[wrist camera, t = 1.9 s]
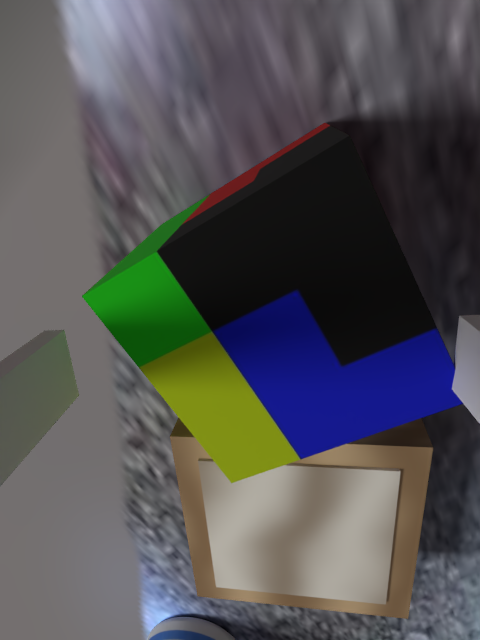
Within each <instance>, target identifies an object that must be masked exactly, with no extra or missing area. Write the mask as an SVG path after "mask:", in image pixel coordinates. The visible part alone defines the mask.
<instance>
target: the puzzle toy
mask: <svg viewBox="0 0 480 640" xmlns="http://www.w3.org/2000/svg"><path fill="white" fill-rule="evenodd" d="M82 297H83V298H84V300H85V301H86V302H87V303H88V305H89V306H90V307H91V308H92V310H93V311H94V312H95V313H96V315H97V316H98V317H99V318H100V320H101V321H102V322H103V323H104V325H105V326H106V327H107V328H108V330H109V331H110V332H111V333H112V335H113V336H114V337H115V338H116V340H117V341H118V342H119V343H120V345H121V346H122V347H123V348H124V350H125V351H126V352H127V353H128V355H129V356H130V357H131V358H132V360H133V361H134V362H135V363H136V365H137V366H138V367H139V368H140V370H141V371H142V372H143V373H144V375H145V376H146V377H147V378H148V380H149V381H150V382H151V383H152V385H153V386H154V387H155V388H156V390H157V391H158V392H159V393H160V395H161V396H162V397H163V398H164V400H165V401H166V402H167V403H168V405H169V406H170V407H171V408H172V410H173V411H174V412H175V413H176V415H177V416H178V417H179V418H180V420H181V421H182V422H183V423H184V425H185V426H186V427H187V428H188V430H189V431H190V432H191V433H192V435H193V436H194V437H195V438H196V440H197V441H198V442H199V443H200V445H201V446H202V447H203V448H204V450H205V451H206V452H207V453H208V455H209V456H210V457H211V458H212V460H213V461H214V462H215V463H216V465H217V466H218V467H219V468H220V470H221V471H222V472H223V473H224V475H225V476H226V477H227V478H228V480H229V481H230V482H231V483H234V482H237V481H240V480H242V479H245V478H248V477H251V476H254V475H257V474H260V473H263V472H266V471H269V470H272V469H275V468H277V467H280V466H283V465H286V464H289V463H292V462H295V461H298V460H301V459H304V458H307V457H309V456H312V455H315V454H318V453H321V452H324V451H327V450H330V449H333V448H336V447H339V446H342V445H344V444H347V443H350V442H353V441H356V440H359V439H362V438H365V437H368V436H371V435H374V434H377V433H379V432H382V431H385V430H388V429H391V428H394V427H397V426H400V425H403V424H406V423H409V422H412V421H414V420H417V419H420V418H423V417H426V416H429V415H432V414H435V413H438V412H441V411H444V410H447V409H449V408H452V407H455V406H458V405H461V404H463V402H462V401H461V400H460V399H459V398H458V396H457V395H456V394H455V393H454V391H453V390H452V385H453V380H454V374H455V367H454V364H453V362H452V360H451V358H450V356H449V353H448V351H447V349H446V347H445V344H444V342H443V340H442V338H441V336H440V333H439V331H438V329H437V327H436V325H435V322H434V320H433V318H432V316H431V314H430V311H429V309H428V307H427V305H426V303H425V300H424V298H423V296H422V294H421V292H420V289H419V287H418V285H417V283H416V281H415V278H414V276H413V274H412V272H411V270H410V267H409V265H408V263H407V261H406V259H405V256H404V254H403V252H402V250H401V248H400V245H399V243H398V241H397V239H396V237H395V234H394V232H393V230H392V228H391V226H390V223H389V221H388V219H387V217H386V215H385V212H384V210H383V208H382V206H381V203H380V201H379V199H378V197H377V195H376V192H375V190H374V188H373V186H372V184H371V181H370V179H369V177H368V175H367V173H366V170H365V168H364V166H363V164H362V162H361V159H360V157H359V155H358V153H357V151H356V148H355V146H354V144H353V142H352V140H351V137H350V135H348V134H346V133H344V132H342V131H340V130H338V129H336V128H334V127H332V126H330V125H328V124H326V123H324V124H322V125H320V126H319V127H317V128H316V129H314V130H312V131H311V132H309V133H307V134H306V135H304V136H303V137H301V138H299V139H298V140H296V141H295V142H293V143H291V144H290V145H288V146H287V147H285V148H283V149H282V150H280V151H279V152H277V153H275V154H274V155H272V156H271V157H269V158H267V159H266V160H264V161H263V162H261V163H259V164H258V165H256V166H255V167H253V168H251V169H250V170H248V171H247V172H245V173H243V174H242V175H240V176H239V177H237V178H235V179H234V180H232V181H231V182H229V183H227V184H226V185H224V186H223V187H221V188H219V189H218V190H216V191H214V192H213V193H211V194H210V195H208V196H206V197H205V198H203V199H202V200H200V201H198V202H197V203H195V204H194V205H192V206H190V207H189V208H187V209H186V210H184V211H182V212H181V213H179V214H178V215H176V216H174V217H173V218H171V219H170V220H168V221H166V222H165V223H163V224H162V225H161V226H159V227H158V228H157V229H156V230H155V231H154V232H153V233H152V234H151V235H149V236H148V237H147V238H146V239H145V240H144V241H143V242H142V243H141V244H139V245H138V246H137V247H136V248H135V249H134V250H133V251H132V252H130V253H129V254H128V255H127V256H126V257H125V258H124V259H123V260H122V261H120V262H119V263H118V264H117V265H116V266H115V267H114V268H113V269H112V270H110V271H109V272H108V273H107V274H106V275H105V276H104V277H103V278H102V279H100V280H99V281H98V282H97V283H96V284H95V285H94V286H93V287H92V288H90V289H89V290H88V291H87V292H86V293H85V294H84V295H83V296H82Z"/></svg>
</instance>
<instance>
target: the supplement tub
mask: <svg viewBox="0 0 480 640" xmlns="http://www.w3.org/2000/svg"><path fill="white" fill-rule="evenodd" d="M147 640H236V639H235V638H234V637H233V636H232V635H230V634H229V633H228V632H227V631H226V630H224V629H223V628H221V627H220V626H218V625H216V624H214V623H211V622H209V621H206V620H203V619H199V618H193V617H175V618H170V619H167V620H164V621H162V622H160V623H159V624H158V625H156V626H155V627H154V628H153V629H152V631H151V632H150V634H149V636H148V639H147Z"/></svg>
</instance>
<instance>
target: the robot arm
mask: <svg viewBox="0 0 480 640" xmlns="http://www.w3.org/2000/svg"><path fill="white" fill-rule="evenodd" d="M454 367H455V374H454V380H453V385H452V390H453V391H454V393H455V394H456V395H457V396H458V398H459V399H460V400H461V401H462V402H463V404H464V405H465V406H466V407H467V409H468V410H469V411H470V412H471V414H472V415H473V416H474V417H475V419H476V420H477V421H478V422H479V424H480V315H461V316H459V323H458V332H457V340H456V349H455V358H454ZM78 396H79V394H78V389H77V385H76V380H75V376H74V371H73V367H72V363H71V358H70V354H69V349H68V345H67V341H66V336H65V332H64V330H48V331H43V332H42V333H40V334H39V335H38V336H36V337H35V338H33V339H32V340H30V341H29V342H28V343H26V344H25V345H23V346H22V347H20V348H19V349H18V350H16V351H15V352H13V353H12V354H10V355H9V356H8V357H6V358H5V359H3V360H2V361H1V362H0V486H1V485H2V484H3V483H4V481H5V480H6V479H7V478H8V477H9V476H10V474H11V473H12V472H13V471H14V470H15V468H17V466H18V465H19V464H20V463H21V462H22V461H23V459H24V458H25V457H26V456H27V455H28V454H29V453H30V451H31V450H32V449H33V448H34V447H35V445H36V444H37V443H38V442H39V441H40V440H41V439H42V437H43V436H44V435H45V434H46V433H47V432H48V430H49V429H50V428H51V427H52V426H53V425H54V424H55V423H56V421H57V420H58V419H59V418H60V417H61V416H62V414H63V413H64V412H65V411H66V410H67V409H68V408H69V406H70V405H71V404H72V403H73V402H74V400H75V399H76V398H77V397H78Z"/></svg>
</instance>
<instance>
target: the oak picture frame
mask: <svg viewBox="0 0 480 640" xmlns="http://www.w3.org/2000/svg"><path fill="white" fill-rule="evenodd" d="M170 439H171V445H172V451H173V456H174V462H175V468H176V474H177V479H178V485H179V491H180V497H181V503H182V508H183V514H184V520H185V526H186V531H187V537H188V543H189V549H190V555H191V560H192V566H193V572H194V578H195V583H196V589H197V595H198V596H201V597H210V598H219V599H229V600H238V601H247V602H257V603H266V604H275V605H285V606H294V607H303V608H313V609H322V610H331V611H341V612H350V613H359V614H369V615H378V616H387V617H397V618H406V619H408V615H409V608H410V601H411V594H412V587H413V581H414V574H415V567H416V560H417V554H418V547H419V540H420V533H421V526H422V520H423V513H424V506H425V499H426V493H427V486H428V479H429V472H430V465H431V459H432V452H433V446H432V444H431V441H430V439H429V436H428V434H427V431H426V429H425V426H424V424H423V421H422V419H421V418H420V419H417V420H414V421H412V422H409V423H406V424H403V425H400V426H397V427H394V428H391V429H388V430H385V431H382V432H379V433H377V434H374V435H371V436H368V437H365V438H362V439H359V440H356V441H353V442H350V443H347V444H344V445H342V446H339V447H336V448H333V449H330V450H327V451H324V452H321V453H318V454H315V455H312V456H309V457H307V458H304V459H301V460H298V461H295V462H292V463H289V464H286V465H283V466H280V467H277V468H275V469H272V470H269V471H266V472H263V473H260V474H257V475H254V476H251V477H248V478H245V479H242V480H240V481H237V482H234V483H231V482H230V481H229V480H228V478H227V477H226V476H225V475H224V473H223V472H222V471H221V470H220V468H219V467H218V466H217V465H216V463H215V462H214V461H213V460H212V458H211V457H210V456H209V455H208V453H207V452H206V451H205V450H204V448H203V447H202V446H201V445H200V443H199V442H198V441H197V440H196V438H195V437H194V436H193V435H192V433H191V432H190V431H189V430H188V428H187V427H186V426H185V425H184V423H183V422H182V421H181V420H180V418H178V420H177V422H176V424H175V427H174V429H173V431H172V433H171V435H170Z"/></svg>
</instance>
